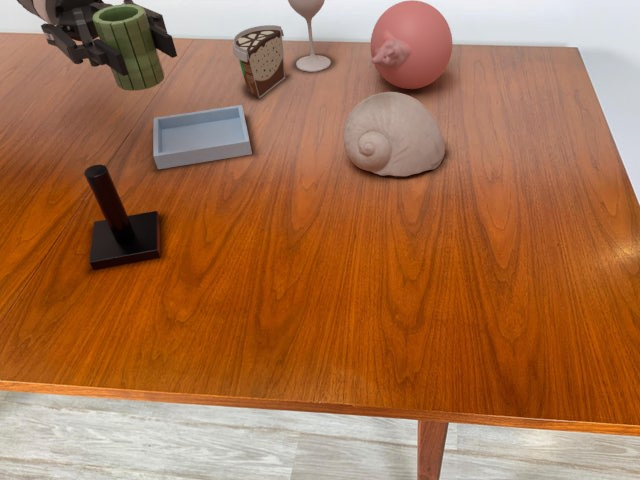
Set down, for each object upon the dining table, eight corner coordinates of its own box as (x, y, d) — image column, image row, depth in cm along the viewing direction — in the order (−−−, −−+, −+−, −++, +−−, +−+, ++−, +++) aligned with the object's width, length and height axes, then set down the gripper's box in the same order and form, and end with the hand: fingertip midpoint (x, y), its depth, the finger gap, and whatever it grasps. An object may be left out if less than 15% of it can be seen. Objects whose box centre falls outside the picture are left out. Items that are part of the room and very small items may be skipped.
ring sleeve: (116, 93, 79) (90, 26, 72) (118, 72, 83) (94, 7, 77) (164, 87, 80) (143, 20, 73) (164, 66, 84) (144, 1, 78)
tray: (157, 169, 96) (153, 156, 94) (157, 130, 105) (153, 117, 103) (252, 154, 99) (249, 141, 97) (244, 117, 107) (241, 104, 105)
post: (93, 270, 80) (54, 197, 71) (97, 229, 86) (62, 157, 77) (160, 257, 81) (130, 184, 72) (160, 218, 87) (132, 146, 78)
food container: (264, 69, 121) (255, 19, 113) (289, 74, 119) (282, 25, 111) (228, 95, 113) (217, 44, 106) (254, 102, 111) (244, 51, 104)
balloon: (340, 98, 112) (334, 15, 101) (402, 59, 122) (403, -19, 111) (405, 122, 105) (405, 37, 94) (464, 80, 116) (471, -1, 105)
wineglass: (304, 53, 125) (291, -55, 110) (337, 58, 123) (328, -52, 108) (289, 69, 120) (273, -43, 105) (322, 74, 118) (312, -39, 103)
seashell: (356, 182, 104) (322, 150, 90) (383, 111, 105) (353, 67, 91) (434, 204, 99) (410, 172, 85) (461, 128, 100) (442, 85, 86)
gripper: (138, 15, 94) (217, 59, 83) (18, 54, 85) (88, 109, 73) (122, -35, 89) (204, 4, 77) (-9, 1, 80) (63, 51, 68)
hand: (147, 55), depth 75 cm, fingers closed on ring sleeve, 6 cm apart
